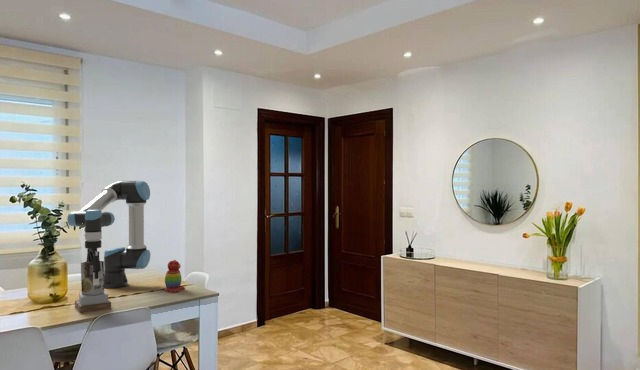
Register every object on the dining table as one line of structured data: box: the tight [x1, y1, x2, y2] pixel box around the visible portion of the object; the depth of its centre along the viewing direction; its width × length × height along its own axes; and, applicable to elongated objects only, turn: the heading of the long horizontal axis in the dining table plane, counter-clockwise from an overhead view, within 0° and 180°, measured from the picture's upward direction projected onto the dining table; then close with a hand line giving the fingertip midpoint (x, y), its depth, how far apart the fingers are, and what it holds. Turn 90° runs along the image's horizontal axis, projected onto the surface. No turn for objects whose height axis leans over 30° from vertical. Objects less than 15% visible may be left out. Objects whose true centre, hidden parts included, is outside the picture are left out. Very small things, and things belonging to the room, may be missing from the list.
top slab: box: [78, 289, 109, 306], centre depth 227 cm, size 12×12×4 cm
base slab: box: [74, 299, 112, 314], centre depth 227 cm, size 14×14×4 cm
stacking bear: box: [164, 259, 186, 294], centre depth 264 cm, size 11×10×18 cm
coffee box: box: [80, 260, 105, 295], centre depth 227 cm, size 9×6×16 cm
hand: (93, 282), depth 227 cm, fingers open, 12 cm apart
